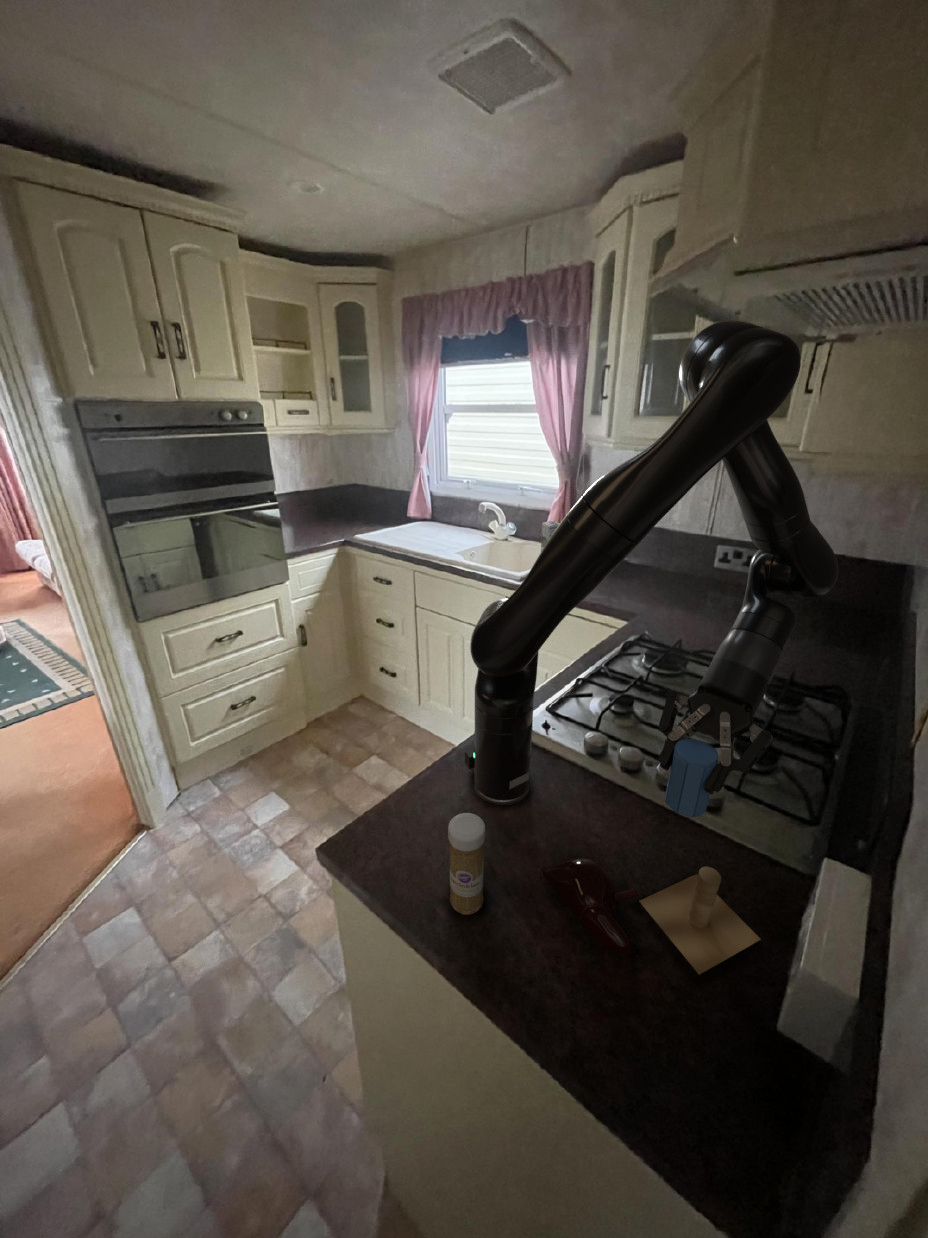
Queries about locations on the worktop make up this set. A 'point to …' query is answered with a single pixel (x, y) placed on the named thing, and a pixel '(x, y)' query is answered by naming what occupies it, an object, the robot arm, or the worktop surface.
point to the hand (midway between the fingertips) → (685, 779)
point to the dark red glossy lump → (592, 900)
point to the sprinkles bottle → (466, 862)
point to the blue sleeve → (690, 777)
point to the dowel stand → (700, 920)
